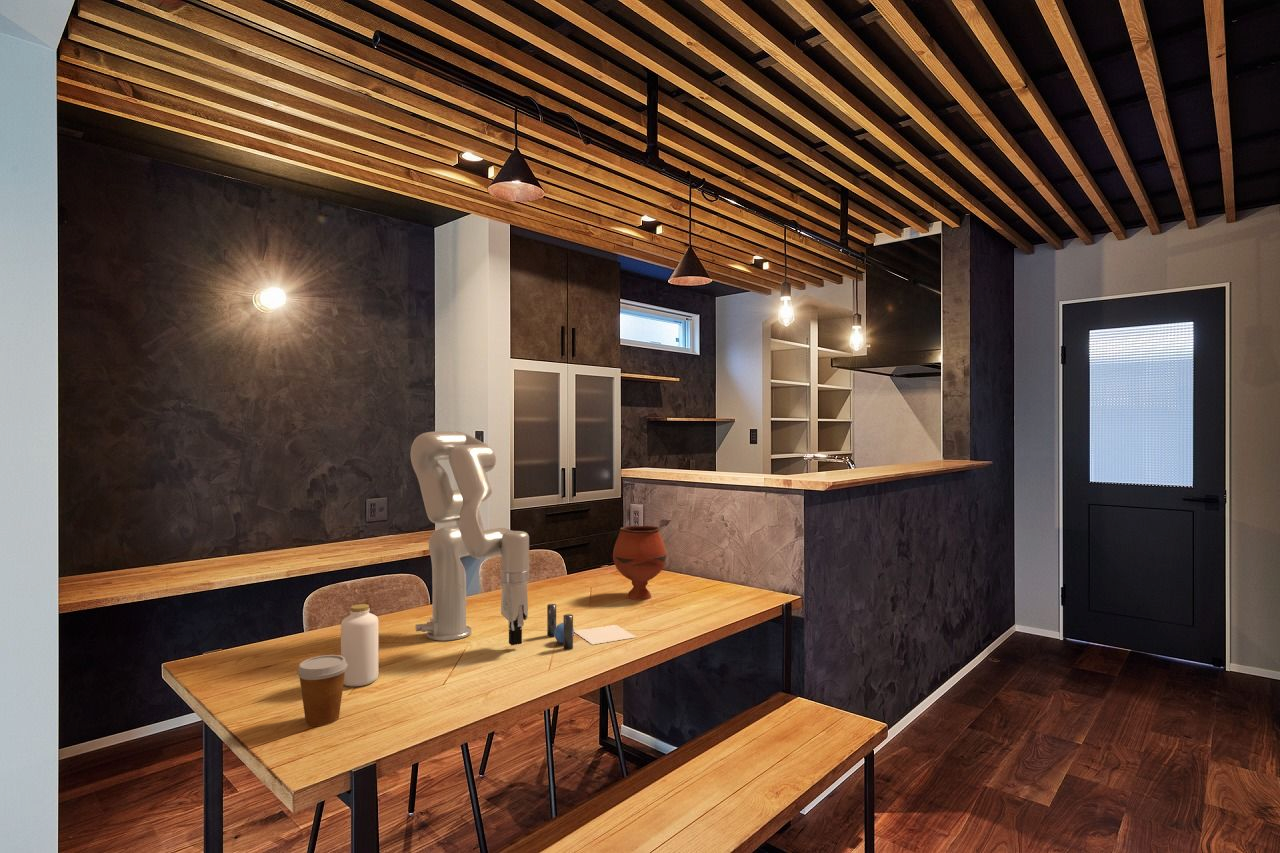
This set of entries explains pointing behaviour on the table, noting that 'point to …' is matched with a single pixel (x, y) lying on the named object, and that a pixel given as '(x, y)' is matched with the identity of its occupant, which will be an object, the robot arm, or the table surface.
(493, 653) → the table surface
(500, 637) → the table surface
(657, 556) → the goblet
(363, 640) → the potion bottle
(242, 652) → the table surface
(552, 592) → the table surface
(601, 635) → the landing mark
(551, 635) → the post
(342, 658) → the disposable coffee cup
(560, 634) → the ball
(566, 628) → the post
